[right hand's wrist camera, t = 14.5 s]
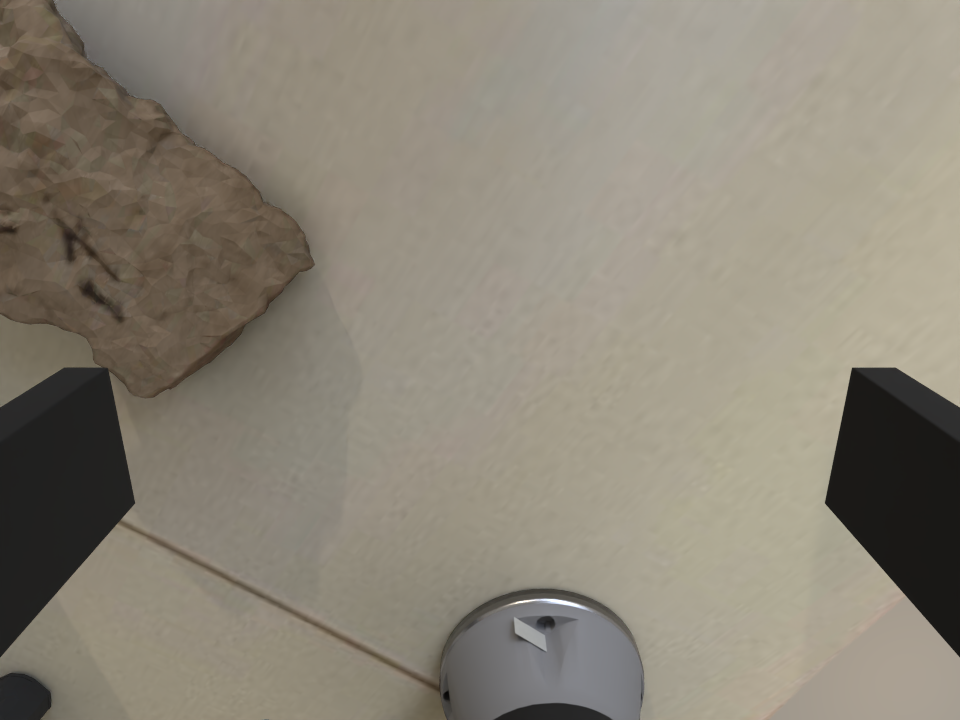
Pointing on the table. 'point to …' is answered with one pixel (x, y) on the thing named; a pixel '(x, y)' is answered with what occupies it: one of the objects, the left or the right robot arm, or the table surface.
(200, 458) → the table surface
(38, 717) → the robot
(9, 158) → the stone
